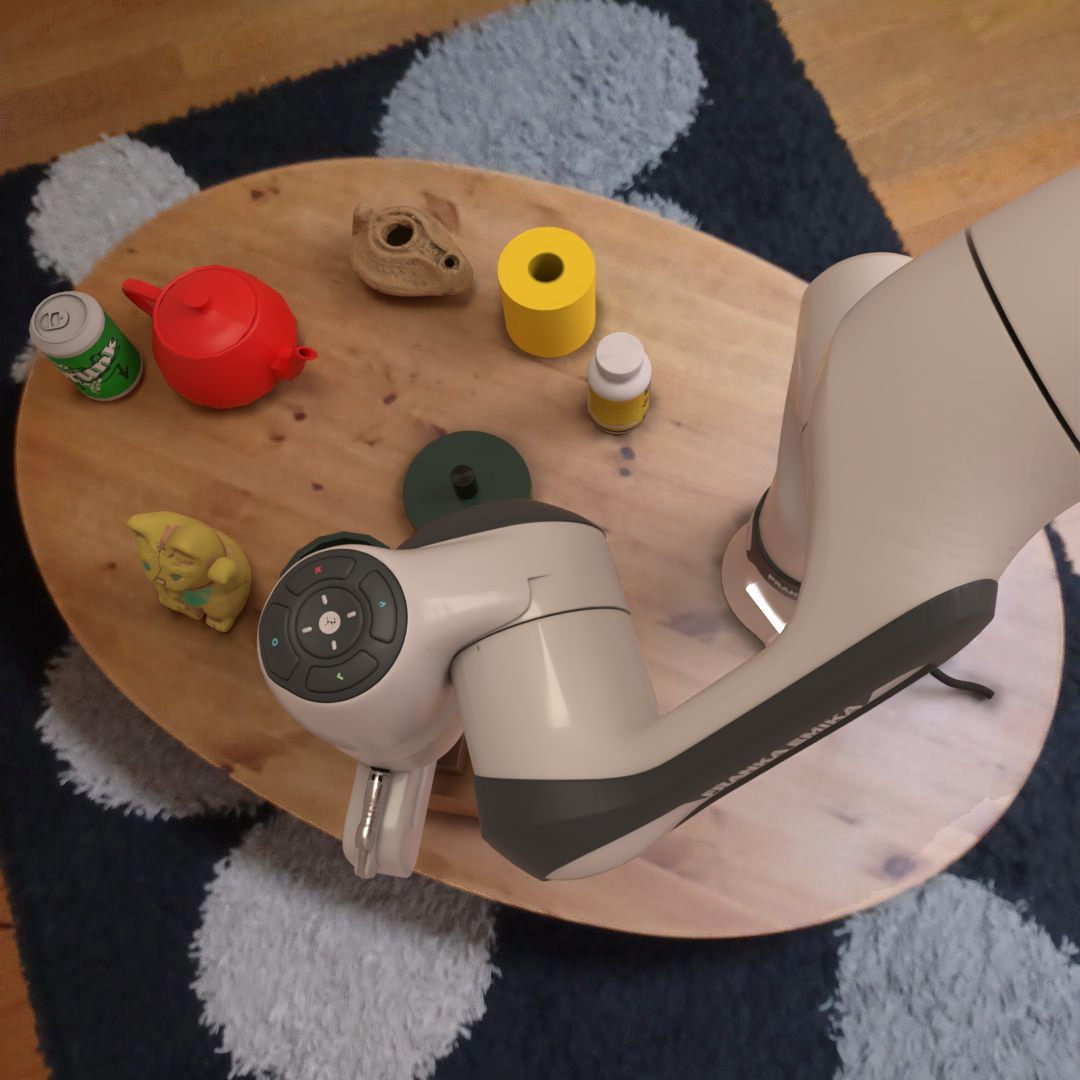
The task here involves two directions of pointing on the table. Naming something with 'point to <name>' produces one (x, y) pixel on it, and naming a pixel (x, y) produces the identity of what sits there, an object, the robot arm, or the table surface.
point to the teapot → (220, 335)
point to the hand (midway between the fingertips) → (430, 730)
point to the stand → (454, 793)
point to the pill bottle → (618, 383)
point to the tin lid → (462, 476)
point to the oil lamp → (406, 253)
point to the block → (455, 758)
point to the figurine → (193, 566)
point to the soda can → (86, 345)
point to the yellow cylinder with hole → (548, 291)
